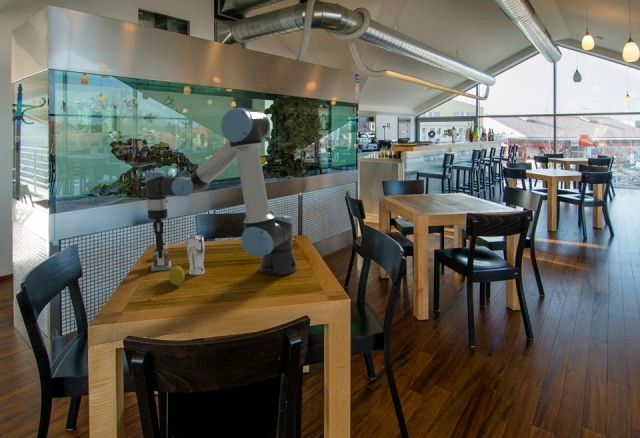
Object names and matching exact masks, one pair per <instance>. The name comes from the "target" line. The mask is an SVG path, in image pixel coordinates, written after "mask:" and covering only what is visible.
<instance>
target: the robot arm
mask: <svg viewBox="0 0 640 438" xmlns="http://www.w3.org/2000/svg"><path fill="white" fill-rule="evenodd" d="M220 130H221V132H222V135H223V137H224V138H225V139H226V140H227V141H226V142H225V143H224V144H223V145H222V146H220V148H218V149H217V150H216V151H215V152H214V153H213V154H212V155H211V156H210V157H209V158H208V159H207V160H205V161H204V162H203V163H202V164H201V165H200V166H199V167H198V168H197V169H195V171H193V172H192V173H191V174H188V175H187V174H186V175H182V176H181V175H180V176H179V175H178V176H166V174H165V171H163V170H149V171H146V172H145V173H144V174H145V175H144V179H145V180H144V184H145V190H146V207H147V218H148V220H152V221H154V222H153V223H152V227H153V232H154V234H155V243H156V245H155V246H156V247H155V249H154V251H157V265H158V266H162V265H165V264H164V246H166V243H165V242H164V239H163V238H164V237H163V236H164V235H163V234H164V227H165V226H164V222H163V221H162V220H165V219H167V218H168V209H167V203H169V200H167V196H170V197H171V196H172V197H179V198H181V197H189V196H190V195H191V194H194V193H198V192H199V193H200V192H203V191H205V190H207V189H208V188H209V187H210V183H211V182H212V181H213V180H214V179H215V178H216V177H218V176H219V175H221V173H223V172H224V171H225V170H226V169H227V168H228V167H229V166H230V165H232V164H233V163H234V162H236V164H237V168H238V175H239V179H240V185H241V190H242V197H243V201H244V202H243V204H244V209H245V215H246V217H245V219H244V220H243V226H244V230H243V232H242V234H241V237H240V239H241V240H240V241H241V246H242V248H243V249H244V250H245V251H246V252H247V253H248V254H249V255H251V256H253V257H257V258H259V257H261V261H260V265H259V271H260V272H261V273H262V274H265V275H270V276H285V275H289V274H290V275H291V274H292V273H296V272H297V269H298V267H297V262H296V259H295V256H294V252H293V220H292V216H290V215H286V214H285V215H284V214H271V212H270V206H269V200H268V195H267V189H266V183H265V176H264V172H263V171H264V170H263V166H262V165H263V163H262V159H261V152H260V148H261V147H262V146H263V140H264V139H265V138H266V137H267V136H268V134H269V131H270V120H269V118H268V117H267V115H266V114H265V113H264V112H262V110H260V109H251V108H246V107H235V108H232V109H229V110H228V111H226V113H225V114H224V115H223V116H222V119H221V123H220Z"/></svg>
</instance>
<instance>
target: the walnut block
mask: <svg viewBox="0 0 640 438" xmlns="http://www.w3.org/2000/svg"><path fill="white" fill-rule="evenodd" d="M168 254H169V249H168V250H164V264H165V265H162V266H166V265H169V261H170V260H169V259H170V256H169V257H168ZM152 263H153V265H154V267H156V266H158V265H157V251H155V250H153V251H152Z"/></svg>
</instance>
